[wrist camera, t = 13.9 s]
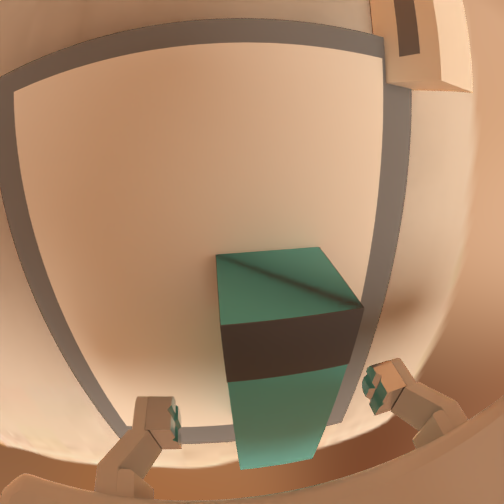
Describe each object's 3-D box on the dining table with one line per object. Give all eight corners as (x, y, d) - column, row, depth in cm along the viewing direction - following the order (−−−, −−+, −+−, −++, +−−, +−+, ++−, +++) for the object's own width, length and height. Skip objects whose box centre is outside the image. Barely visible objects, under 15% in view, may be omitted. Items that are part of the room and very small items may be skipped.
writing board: (1, 82, 7) (-10, 82, 6) (398, 47, 9) (410, 44, 8) (123, 433, 18) (122, 442, 17) (338, 414, 19) (342, 423, 19)
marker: (215, 254, 11) (219, 325, 7) (319, 246, 11) (364, 307, 8) (234, 428, 17) (241, 479, 13) (294, 420, 17) (308, 469, 14)
